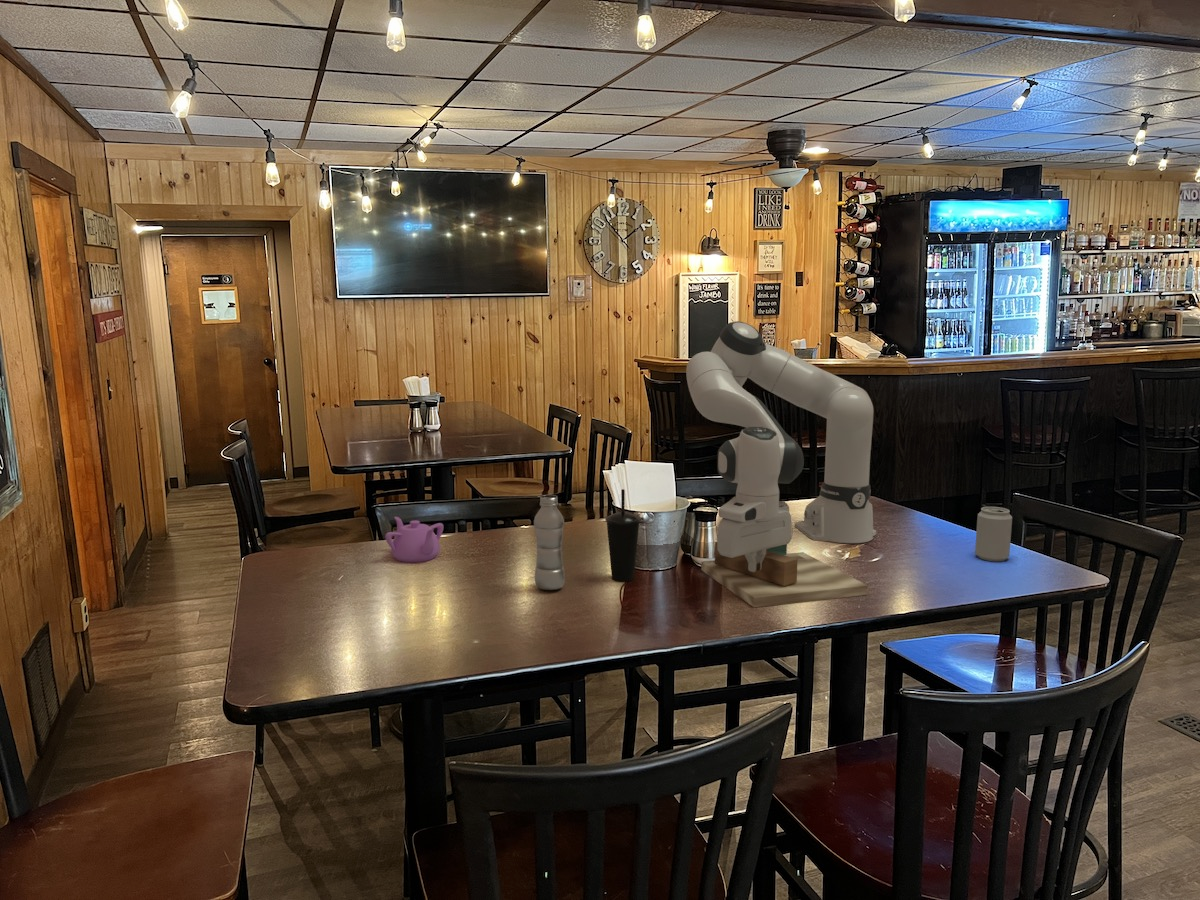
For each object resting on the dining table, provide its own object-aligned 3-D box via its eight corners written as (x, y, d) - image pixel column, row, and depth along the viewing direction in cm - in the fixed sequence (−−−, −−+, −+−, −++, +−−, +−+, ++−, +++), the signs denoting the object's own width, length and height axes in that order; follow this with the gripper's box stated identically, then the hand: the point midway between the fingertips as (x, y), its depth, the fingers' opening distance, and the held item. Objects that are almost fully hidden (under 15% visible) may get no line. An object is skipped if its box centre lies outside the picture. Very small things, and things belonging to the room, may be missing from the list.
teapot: (434, 565, 202) (433, 528, 200) (377, 563, 204) (375, 526, 202) (450, 551, 214) (449, 516, 212) (396, 549, 215) (394, 514, 214)
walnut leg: (712, 563, 195) (713, 538, 194) (725, 559, 198) (725, 536, 197) (783, 586, 179) (784, 559, 178) (796, 582, 182) (797, 556, 181)
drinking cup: (622, 571, 197) (622, 484, 194) (647, 578, 192) (647, 489, 188) (598, 578, 192) (598, 489, 189) (623, 586, 186) (623, 494, 183)
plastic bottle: (542, 595, 180) (541, 501, 177) (529, 586, 186) (528, 495, 183) (570, 590, 183) (569, 498, 180) (557, 582, 189) (556, 492, 186)
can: (1014, 562, 203) (1018, 512, 202) (982, 562, 204) (986, 512, 202) (1000, 553, 211) (1004, 505, 209) (969, 553, 211) (973, 505, 209)
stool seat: (701, 570, 198) (701, 548, 197) (802, 560, 205) (803, 539, 204) (754, 607, 173) (754, 583, 172) (867, 594, 181) (868, 571, 180)
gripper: (776, 497, 190) (774, 558, 192) (712, 510, 177) (711, 575, 179) (800, 502, 185) (797, 565, 187) (736, 515, 172) (734, 583, 174)
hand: (754, 570), depth 183 cm, fingers closed
